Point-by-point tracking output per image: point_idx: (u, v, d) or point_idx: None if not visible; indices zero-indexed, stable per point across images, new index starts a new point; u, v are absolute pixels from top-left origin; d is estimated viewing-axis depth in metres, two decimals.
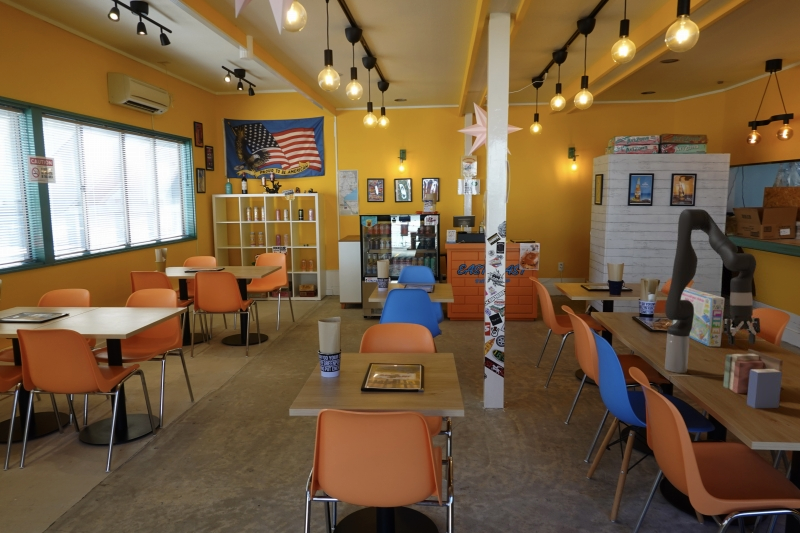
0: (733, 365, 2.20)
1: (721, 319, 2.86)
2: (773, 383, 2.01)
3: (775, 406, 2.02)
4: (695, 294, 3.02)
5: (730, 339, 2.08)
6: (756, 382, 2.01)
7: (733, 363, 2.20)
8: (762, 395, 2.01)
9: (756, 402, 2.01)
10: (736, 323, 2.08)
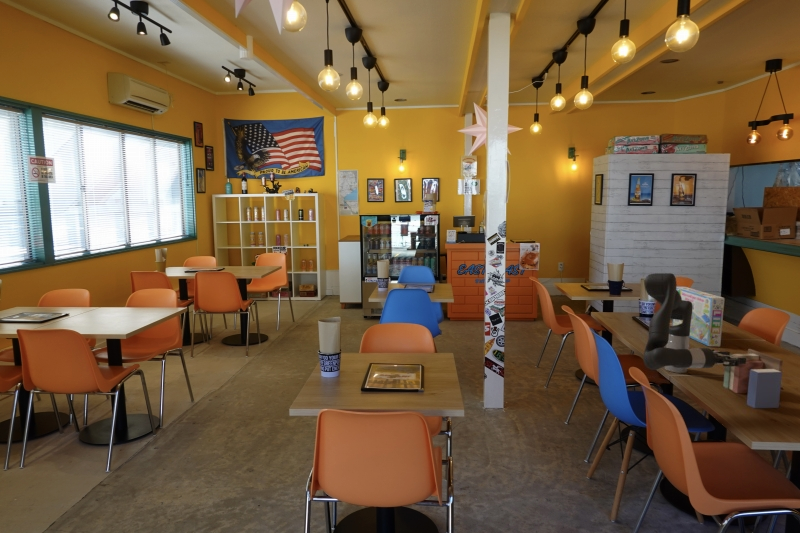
0: None
1: (721, 319, 2.86)
2: (773, 383, 2.01)
3: (775, 406, 2.02)
4: (695, 294, 3.02)
5: None
6: (756, 382, 2.01)
7: None
8: (762, 395, 2.01)
9: (756, 402, 2.01)
10: None
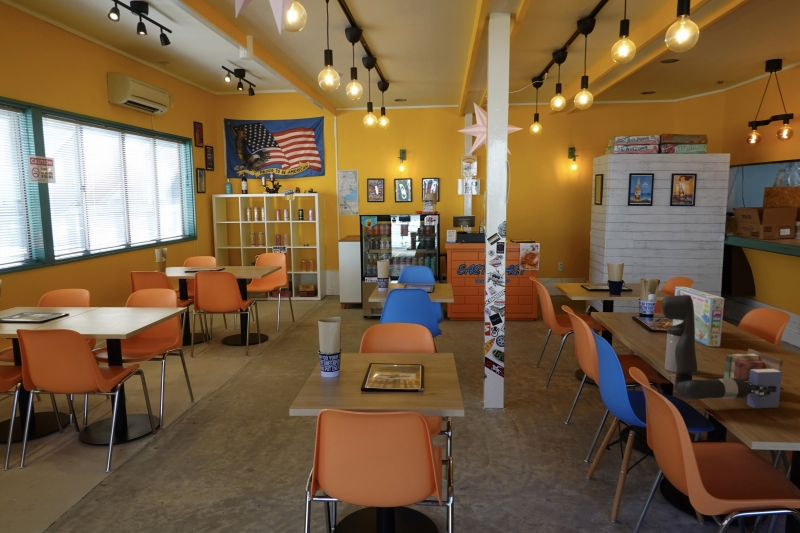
0: (733, 365, 2.20)
1: (720, 319, 2.86)
2: (773, 383, 2.01)
3: (775, 406, 2.02)
4: (695, 294, 3.02)
5: None
6: (756, 382, 2.01)
7: (733, 363, 2.20)
8: None
9: (756, 402, 2.01)
10: None
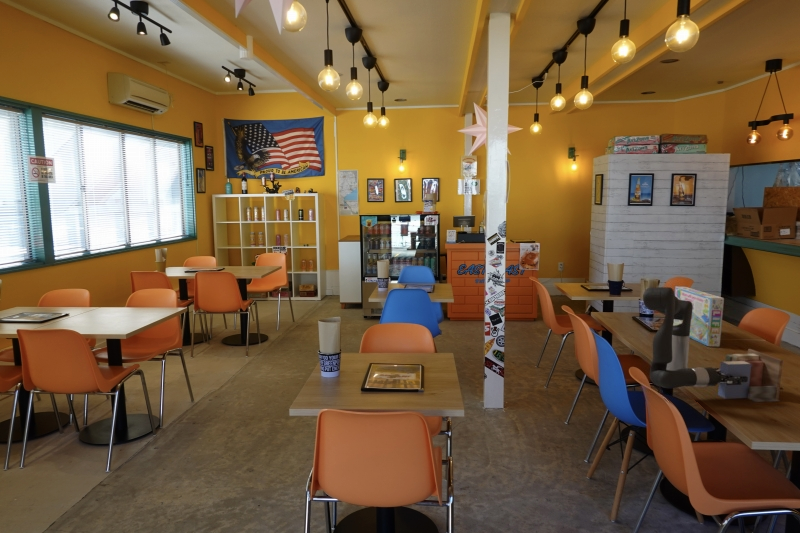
0: None
1: (720, 319, 2.86)
2: (742, 374, 2.11)
3: (745, 396, 2.12)
4: (695, 294, 3.02)
5: None
6: (726, 373, 2.10)
7: None
8: (732, 386, 2.11)
9: (726, 393, 2.11)
10: None
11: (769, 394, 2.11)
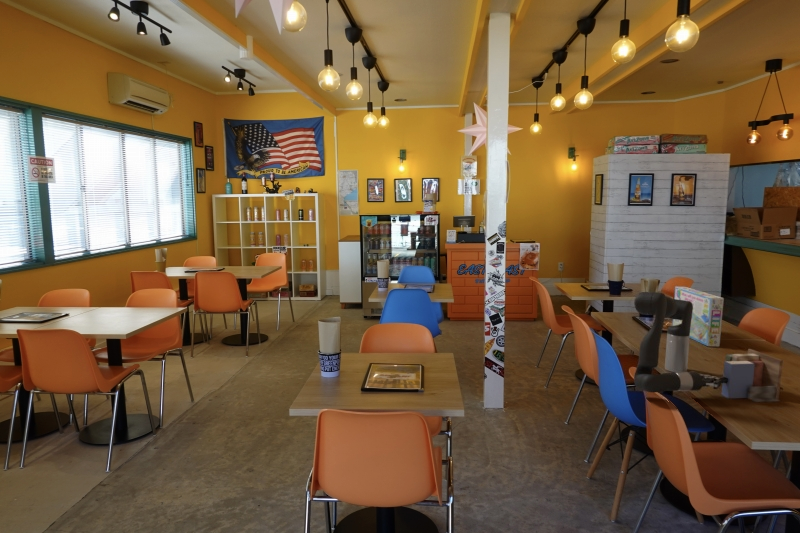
0: None
1: (720, 319, 2.86)
2: (745, 374, 2.11)
3: None
4: (695, 294, 3.02)
5: None
6: (730, 373, 2.11)
7: None
8: (736, 386, 2.11)
9: (730, 393, 2.11)
10: None
11: (769, 394, 2.11)
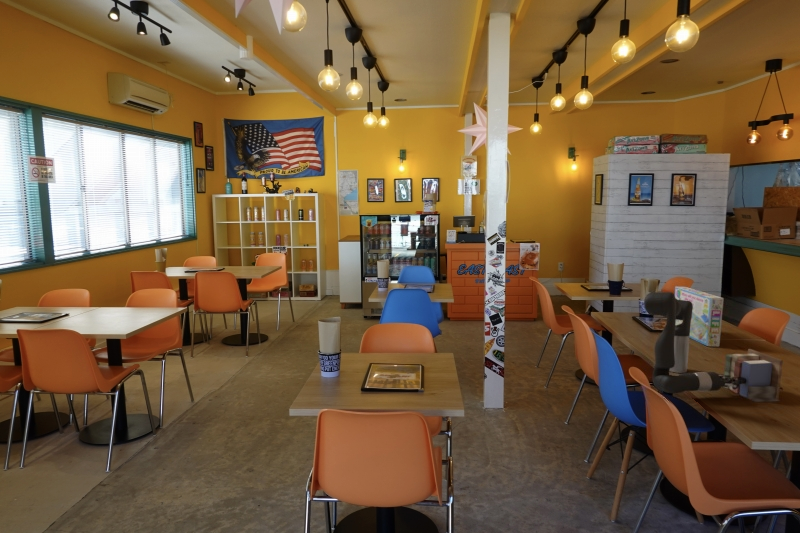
0: (733, 365, 2.20)
1: (720, 319, 2.86)
2: (764, 373, 2.12)
3: None
4: (695, 294, 3.02)
5: None
6: (748, 373, 2.11)
7: (733, 363, 2.20)
8: (754, 385, 2.12)
9: None
10: None
11: (769, 394, 2.11)
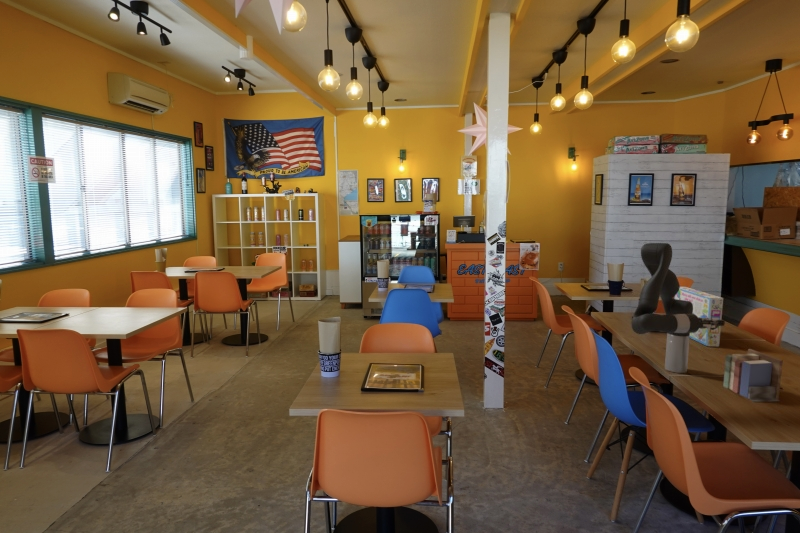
0: (733, 365, 2.20)
1: (720, 319, 2.86)
2: (764, 373, 2.12)
3: None
4: (694, 294, 3.02)
5: None
6: (749, 373, 2.11)
7: (733, 363, 2.20)
8: (754, 385, 2.12)
9: None
10: None
11: (769, 394, 2.11)
